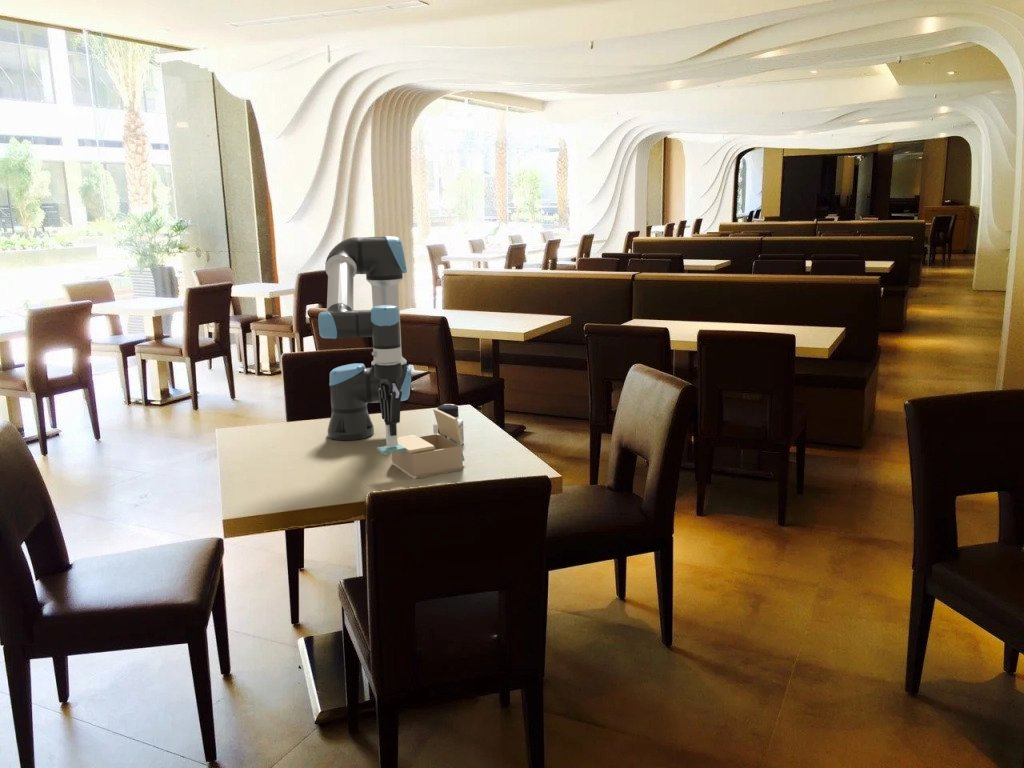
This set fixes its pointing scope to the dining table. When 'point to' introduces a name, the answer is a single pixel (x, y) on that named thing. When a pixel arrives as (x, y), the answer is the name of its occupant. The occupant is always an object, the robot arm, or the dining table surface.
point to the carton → (430, 458)
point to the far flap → (448, 426)
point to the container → (453, 412)
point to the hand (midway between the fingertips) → (392, 445)
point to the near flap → (407, 445)
